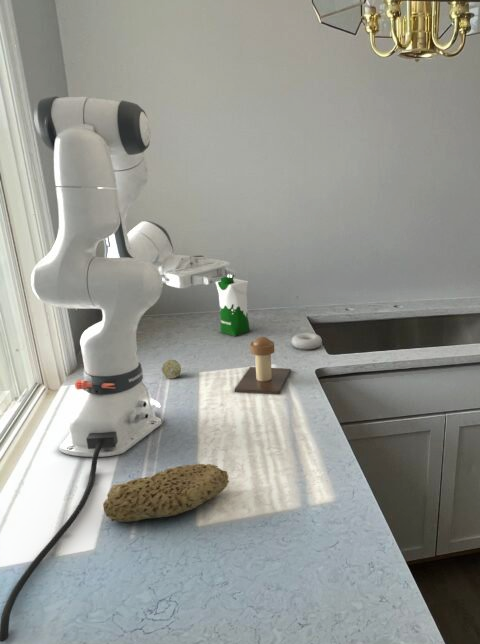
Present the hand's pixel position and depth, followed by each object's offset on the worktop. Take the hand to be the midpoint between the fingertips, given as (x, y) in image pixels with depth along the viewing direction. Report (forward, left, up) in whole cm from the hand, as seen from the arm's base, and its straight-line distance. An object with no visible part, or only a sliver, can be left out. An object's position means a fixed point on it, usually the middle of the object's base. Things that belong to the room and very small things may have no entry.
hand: (222, 277), depth 150 cm
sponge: (-63, -8, -28) cm, 69 cm away
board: (-5, -11, -28) cm, 30 cm away
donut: (+25, -18, -28) cm, 42 cm away
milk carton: (+36, +9, -28) cm, 47 cm away
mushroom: (-5, -11, -27) cm, 30 cm away
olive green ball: (-5, +15, -28) cm, 32 cm away
